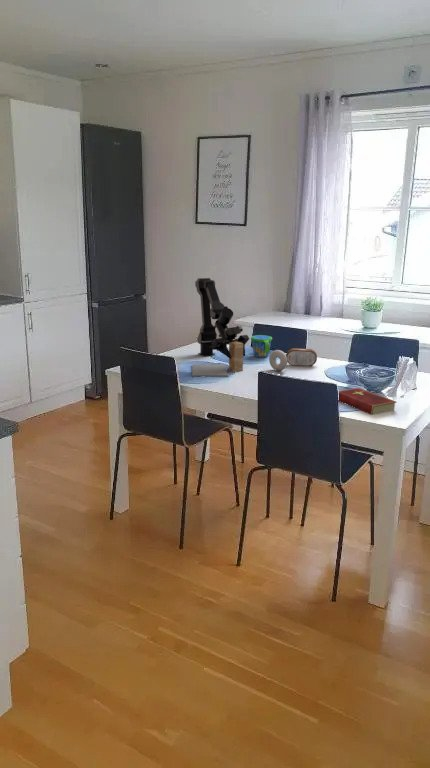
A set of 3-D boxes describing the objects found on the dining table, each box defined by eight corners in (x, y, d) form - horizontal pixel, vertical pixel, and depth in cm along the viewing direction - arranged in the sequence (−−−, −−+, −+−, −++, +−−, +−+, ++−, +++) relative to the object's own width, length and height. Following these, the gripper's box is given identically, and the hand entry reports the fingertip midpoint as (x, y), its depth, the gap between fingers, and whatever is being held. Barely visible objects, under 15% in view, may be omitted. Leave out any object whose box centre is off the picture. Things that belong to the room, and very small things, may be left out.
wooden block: (228, 369, 290) (229, 342, 286) (236, 368, 292) (236, 341, 289) (235, 371, 286) (235, 344, 282) (242, 370, 288) (243, 343, 285)
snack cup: (275, 359, 310) (276, 339, 307) (255, 360, 308) (256, 340, 305) (266, 352, 325) (266, 333, 322) (247, 353, 323) (247, 334, 320)
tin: (316, 365, 299) (317, 348, 297) (316, 367, 296) (317, 350, 294) (285, 364, 301) (286, 347, 298) (285, 366, 298) (286, 349, 295)
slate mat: (192, 365, 296) (192, 364, 296) (225, 365, 296) (225, 364, 296) (192, 376, 277) (192, 375, 276) (227, 376, 277) (227, 375, 277)
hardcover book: (371, 416, 228) (372, 405, 227) (335, 401, 245) (335, 390, 244) (395, 411, 233) (396, 400, 232) (358, 396, 251) (358, 387, 250)
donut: (267, 369, 291) (267, 348, 288) (271, 368, 293) (272, 347, 290) (284, 373, 284) (284, 352, 281) (288, 372, 286) (289, 351, 284)
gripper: (215, 321, 281) (229, 349, 275) (247, 317, 291) (261, 344, 285) (205, 335, 289) (218, 363, 283) (237, 331, 299) (250, 358, 294)
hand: (237, 356), depth 286 cm, fingers open, 8 cm apart
